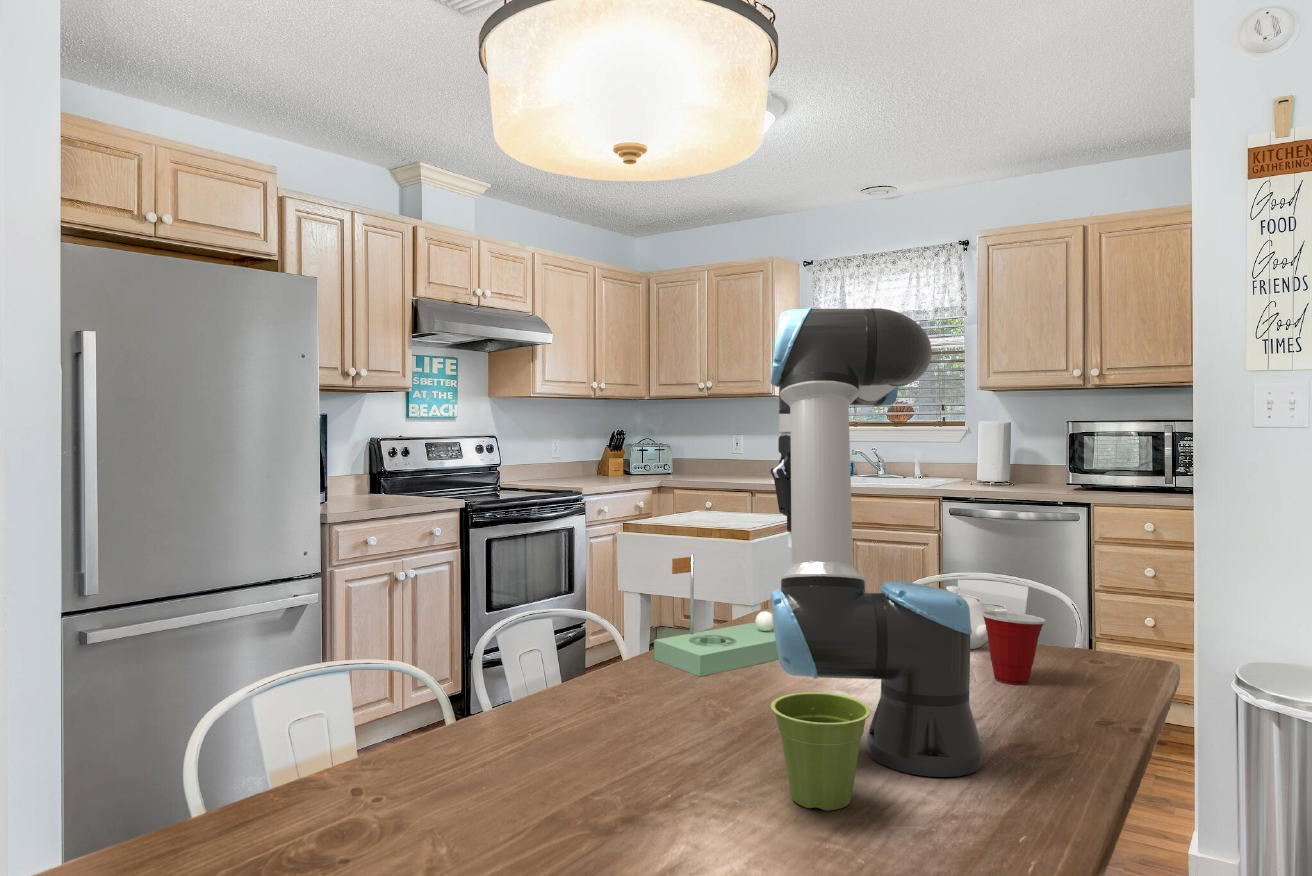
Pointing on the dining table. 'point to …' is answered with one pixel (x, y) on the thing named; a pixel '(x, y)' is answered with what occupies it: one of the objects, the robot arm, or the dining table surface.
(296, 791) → the dining table surface
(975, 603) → the teapot
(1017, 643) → the plastic cup
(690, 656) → the putting board
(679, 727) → the dining table surface
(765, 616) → the ball
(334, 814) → the dining table surface
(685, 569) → the flag
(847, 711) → the plant pot
